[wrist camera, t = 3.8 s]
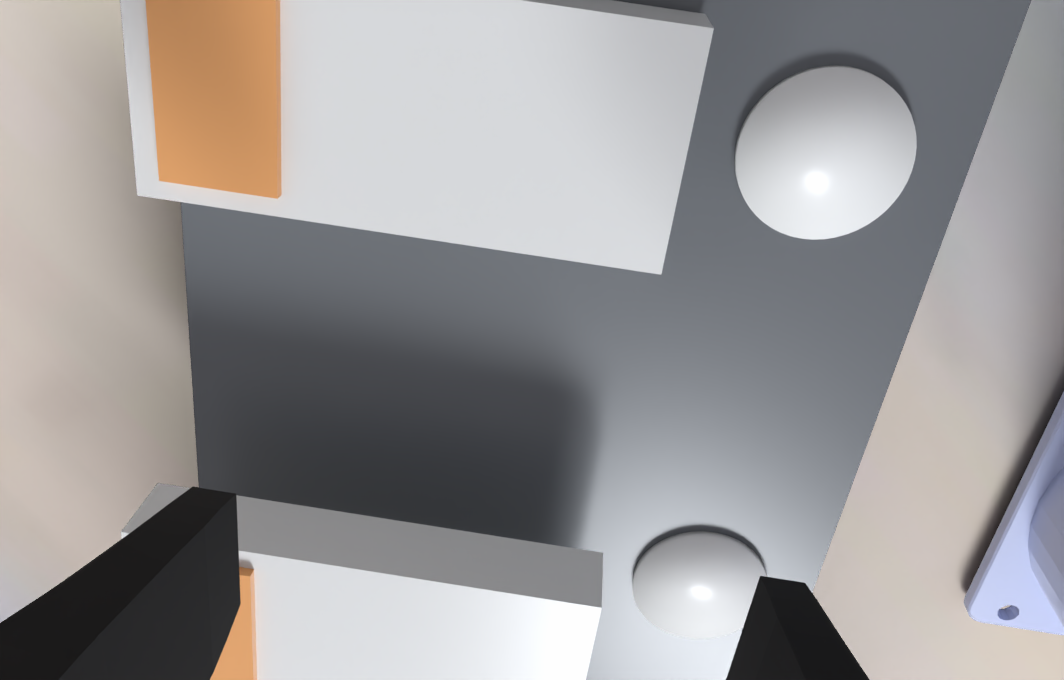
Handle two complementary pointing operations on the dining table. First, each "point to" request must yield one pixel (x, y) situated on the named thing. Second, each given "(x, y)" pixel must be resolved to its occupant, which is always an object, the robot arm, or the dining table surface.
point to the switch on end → (399, 599)
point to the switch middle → (424, 117)
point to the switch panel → (625, 333)
